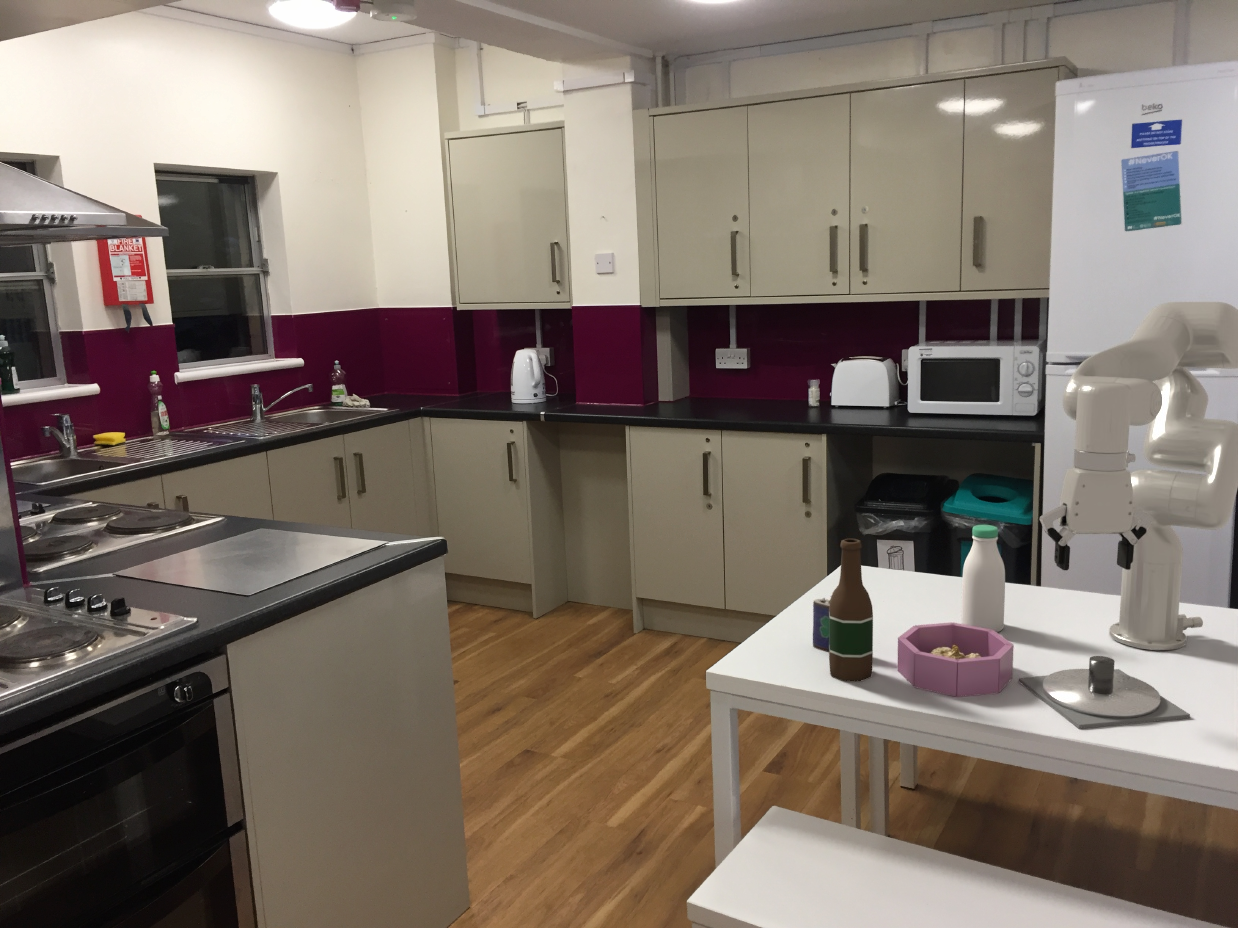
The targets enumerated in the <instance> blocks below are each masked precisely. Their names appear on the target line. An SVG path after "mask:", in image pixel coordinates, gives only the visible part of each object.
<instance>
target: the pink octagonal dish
mask: <svg viewBox="0 0 1238 928" xmlns="http://www.w3.org/2000/svg"><path fill="white" fill-rule="evenodd" d="M953 645H956V646H957V647H958V649H959V650H960V653H963V654H964V655H965V656H966V655H970V654H971V653H974V654H979V655H980V656H981V657H977V658H966V659H954V658H949V657H944V656H939V655H934V654H930V653H931V652H932V650H934V649H935V650H936V648H938V647H939V648H942V647H948V648H950V649H951V650H952V647H953ZM956 646H954V647H953V649H954V648H955V647H956ZM1014 649H1015V648H1014V644H1013V643H1012V642H1010V640H1008V639H1006V637H1003V636H1002V635H1001V634H999V632H995V631H994V630H991V629H986V628H980V627H975V626H969V625H964V624H961V623H958V622H942V623H941V622H940V623H939V622H938V623H929V624H918V625H917V624H915V625H913V626H912V627H910V628H909V629H908V630H906V631H905V632H904V633H902V634H900V635H899V636H898V637H897V672H898V673H899V674H900V675H901V676H902V677H903V678H904V679H905V680H906V681H907V683H909V684H910V685H911V686H913V687H914V688H916V689H920V690H921V689H922V690H924V691H929V692H933V693H938V694H942V695H946V696H951V697H956V698H961V697H970V696H981V695H992V694H993V695H994V694H999V693H1001V691H1002V690H1003V689H1004V688H1005V687H1006V685H1008V684H1009V683H1010V681H1011V680H1012V679H1013V673H1014V671H1013V670H1014V669H1013V668H1014ZM955 650H956V648H955Z"/></svg>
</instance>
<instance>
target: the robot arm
mask: <svg viewBox="0 0 1238 928" xmlns="http://www.w3.org/2000/svg"><path fill="white" fill-rule="evenodd" d="M1189 368H1201V369H1202V368H1203V369H1233V370H1235V369H1238V308H1237V307H1235V306H1233V305H1231V304H1229V303H1227V302H1223V301H1221V302H1220V301H1170V302H1163V303H1161V304H1158V305H1157V306H1155V307H1154V308H1152V309H1151V310H1150V311H1149V312H1148V313H1147V315H1146V316H1145V317H1144V319H1143V320H1142V322H1141V323H1140V324H1139V326H1138V327H1137V329H1136V330H1135V332H1134V333H1133V335H1132V336H1131V337H1130V338H1129V340H1128V341H1125V342H1122V343H1119V344H1117V345H1114V346H1112V347H1109V348H1107V349H1104V350H1102V351H1100V352H1097V353H1095V354H1093V355H1090V356H1089V357H1088V358H1086V359H1085V360H1083V361H1082V362H1081V363H1080V365H1078V367H1077V368H1076V370H1075V371H1074V373H1072V375H1071V376H1070V378H1069V380H1068V381H1067V383H1066V386H1064V387H1065V388H1064V390H1063V395H1062V408H1063V411H1064V413H1065V415H1066V416H1067V417H1069V418H1070V419H1071V420H1073V421H1075V431H1074V432H1075V433H1074V434H1075V435H1074V447H1073V462H1072V463H1073V465H1072V467H1069V468H1067V470H1066V473H1065V476H1064V479H1063V483H1062V488H1061V494H1060V498H1059V506H1057V507H1056V508H1054V509H1052V510H1050V511H1048V512H1046V513H1043V514H1041V516H1039V521H1040V523H1041V526H1042V527H1043V529H1044V532H1045V534H1047V535H1048V537H1050V538H1051V540H1052V541H1053V542H1054V543H1055V544H1054V545H1055V546H1054V563H1055V565H1056V567H1058V568H1059V569H1061V570H1062V571H1068V570H1070V557H1071V547H1070V545H1068V543H1069V542H1070V541H1071V540H1072V539H1073V538H1074V536H1075V535H1076V534H1077V535H1117V534H1118V535H1119V536H1120V538H1121V540H1118V543H1117V552H1116V553H1117V555H1116V565H1117V566H1119V567H1121V568H1122V570H1121V589H1120V604H1119V619H1118V620H1119V622H1115V623H1113V624H1112V625H1110V627H1109V629H1108V630H1109V633H1108V634H1109V636H1110V637H1111V638H1112V639H1113V640H1114V641H1116V642H1118V643H1121V644H1123V645H1126V646H1130V647H1133V648H1137V649H1144V650H1148V651H1149V650H1150V651H1152V650H1153V651H1171V650H1172V651H1173V650H1177V649H1180V648H1182V647H1184V646H1185V645H1186V644H1187V639H1188V638H1187V635H1186V634H1185V632H1184V631H1186V630H1187V629H1188V628H1191V629H1195V628H1203V625H1204V621H1203V619H1202V617H1201V616H1191V617H1187V615H1186V614H1185V613H1183V614H1179V613H1180V599H1181V598H1180V597H1181V588H1182V587H1181V585H1182V584H1181V583H1182V574H1183V573H1182V572H1183V571H1182V569H1183V557H1184V551H1183V545H1182V542H1181V539H1180V538H1179V536H1178V535H1177V533H1176V531H1175V530H1174V528H1173V527H1174V526H1175V527H1176V526H1177V527H1184V528H1191V529H1197V530H1198V529H1199V530H1205V531H1206V530H1207V531H1217V530H1220V529H1223V528H1224V527H1225V526H1226V525H1227V524H1228V522H1229V521H1230V518H1231V516H1232V513H1233V509H1234V505H1235V501H1236V495H1237V492H1238V423H1237V422H1235V421H1231V420H1227V419H1218V418H1205V416H1206V412H1207V409H1208V404H1209V395H1208V393H1207V391H1206V389H1205V388H1204V386H1203V385H1202V383H1201V382H1200V381H1199V380H1198V378H1197V377H1196V376H1195V375H1194V374H1193V373H1192V372H1191V371H1190V370H1189ZM1145 425H1148V426H1147V430H1146V433H1145V437H1144V441H1143V448H1142V449H1143V450H1142V451H1143V456H1144V459H1145V460H1146V461H1147V463H1149V464H1151V465H1153V466H1155V467H1160V468H1164V469H1155V468H1154V469H1153V468H1151V469H1150V468H1146V469H1144V468H1143V469H1138V470H1135V471H1132V472H1131V471H1130V470H1128V469H1127V468H1128V467H1129V464H1130V463H1135V462H1136V455H1135V453H1129V437H1130V427H1131V426H1133V427H1139V426H1140V427H1141V426H1145ZM1165 468H1166V469H1165ZM1168 469H1172V470H1168ZM1175 470H1179V471H1175ZM1180 470H1181V471H1180ZM1182 470H1183V471H1194V472H1201V473H1193V472H1183V471H1182ZM1202 473H1206V474H1202ZM1055 521H1057V523H1058V525H1059V527H1060V528H1058V530H1057V529H1056V528H1055V526H1054V524H1053V523H1054V522H1055ZM1172 526H1173V527H1172Z"/></svg>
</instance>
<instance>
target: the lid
mask: <svg viewBox="0 0 1238 928" xmlns="http://www.w3.org/2000/svg"><path fill="white" fill-rule="evenodd" d="M1088 661H1089V662H1088V663H1089V665H1088V668H1069V669H1063V670H1059V671H1054V672H1052V673H1050V674H1048V676H1047V675H1046V676H1047V677H1046V678H1045V679H1044V680H1043V692H1044V694H1045V695H1046V697H1047V698H1048V699H1050V700H1051V701H1052V702H1054V703H1056V704H1057V705H1059V706H1061V707H1064V708H1066V709H1069V710H1071V711H1074V712H1078V713H1081V714H1085V715H1090V716H1096V717H1102V718H1115V719H1128V718H1138V717H1143V716H1147V715H1150V714H1152V713H1154V712H1155V711H1157V710H1158V709H1159V707H1160V696H1161V694H1160V693H1159V691H1158V689H1156V688H1155V687H1154V686H1152V685H1151V684H1149V683H1148V682H1145V681H1144V680H1142V679H1139V678H1137V677H1134V676H1132V675H1131V676H1130V675H1129V674H1127V675H1124V674H1120V673H1116V672H1114V669H1115V660H1114V659H1113V658H1112V657H1109V656H1104V655H1092V656H1090V657H1089V660H1088ZM1128 675H1129V676H1128Z"/></svg>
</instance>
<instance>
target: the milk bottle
mask: <svg viewBox="0 0 1238 928" xmlns="http://www.w3.org/2000/svg"><path fill="white" fill-rule="evenodd" d="M971 533H972V536H971V537H972V539H973V541H972V546H971V548H970V551H969V552H968V554H967V556H966V558H965V561H964V564H963V568H962V579H961V581H962V582H961V583H962V584H961V586H962V587H961V611H960V612H961V615H960V616H961V620H960V622H961V623H960V624H964V625H969V626H975V627H980V628H986V629H991V630H994V631H995V632H997V633H999V632H1001V631H1002V630H1003V628H1004V624H1005V623H1004V622H1005V600H1006V599H1005V597H1006V596H1005V595H1006V594H1005V593H1006V569H1005V568H1006V567H1005V564H1004V560H1003V558H1002V557H1001V554H1000V551H999V547H998V543H997V542H998V539H999V537H998V536H999V528H998V527H997V526H994V525H989V524H977V525H974V526H973V527H972V531H971Z"/></svg>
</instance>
